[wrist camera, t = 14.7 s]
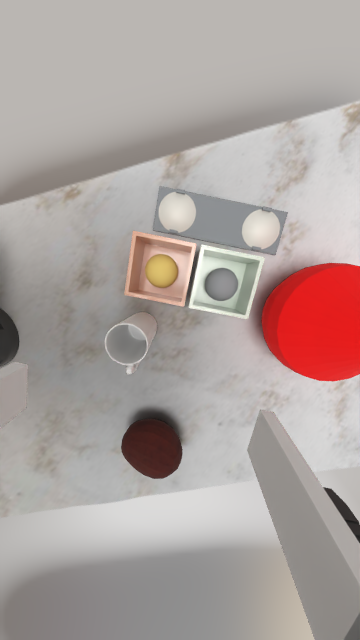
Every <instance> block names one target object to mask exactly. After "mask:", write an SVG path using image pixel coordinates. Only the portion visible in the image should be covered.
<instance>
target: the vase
mask: <svg viewBox="0 0 360 640" xmlns="http://www.w3.org/2000/svg"><path fill="white" fill-rule="evenodd" d="M261 321H262V327H263V334H264V339H265V341H266V343H267V345H268V347H269V349H270V351H271V352H272V353H273V354H274V355H275V357H276V358H277V359H278V360H279V361H280V362H281V363H282V364H283V365H285V366H286V367H288V368H290V369H291V370H293V371H294V372H296V373H299V374H301V375H303V376H306V377H309V378H312V379H316V380H319V381H338V380H344V379H349V378H351V377H354V376H356V375H359V374H360V266H356V265H351V264H344V263H327V264H320V265H316V266H311V267H307V268H304V269H302V270H300V271H298V272H296V273H294V274H292V275H290V276H289V277H288V278H287V279H285V280H284V281H283V282H282V283H280V284H279V285H278V286H277V287H276V288H275V289H274V290H273V291H272V293H271V294H270V295H269V297H268V298H267V300H266V303H265V305H264V308H263V311H262V320H261Z"/></svg>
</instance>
